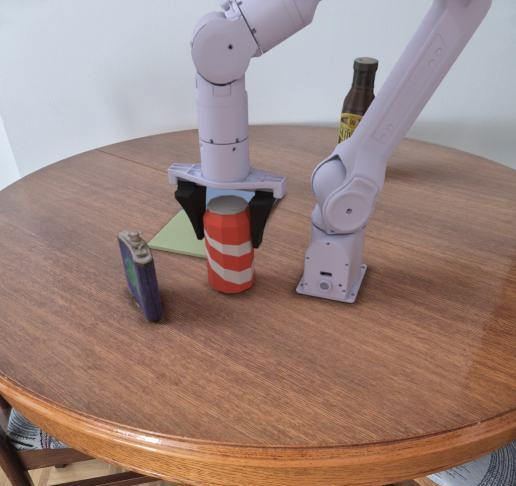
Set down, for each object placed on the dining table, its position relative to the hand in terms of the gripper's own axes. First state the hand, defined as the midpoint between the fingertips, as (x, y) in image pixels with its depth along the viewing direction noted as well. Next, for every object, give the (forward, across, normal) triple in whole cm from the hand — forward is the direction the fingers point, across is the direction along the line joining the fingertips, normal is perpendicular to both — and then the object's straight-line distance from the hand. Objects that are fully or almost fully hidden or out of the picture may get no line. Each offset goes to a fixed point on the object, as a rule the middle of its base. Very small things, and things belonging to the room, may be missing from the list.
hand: (229, 240), depth 71 cm
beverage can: (+7, 0, 0) cm, 7 cm away
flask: (+7, +9, +8) cm, 14 cm away
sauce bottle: (+7, -9, -41) cm, 42 cm away
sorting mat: (+7, +8, -17) cm, 20 cm away
